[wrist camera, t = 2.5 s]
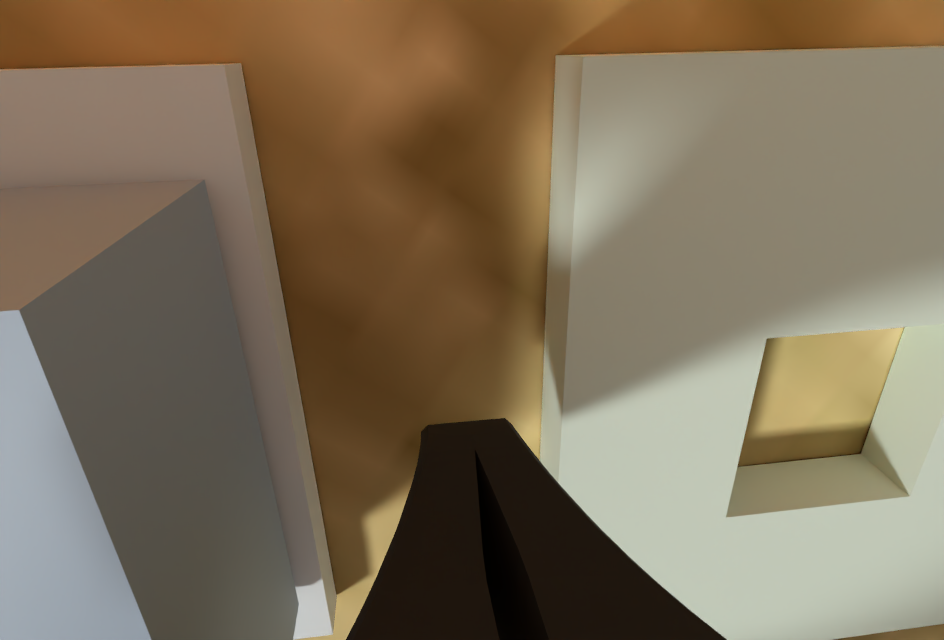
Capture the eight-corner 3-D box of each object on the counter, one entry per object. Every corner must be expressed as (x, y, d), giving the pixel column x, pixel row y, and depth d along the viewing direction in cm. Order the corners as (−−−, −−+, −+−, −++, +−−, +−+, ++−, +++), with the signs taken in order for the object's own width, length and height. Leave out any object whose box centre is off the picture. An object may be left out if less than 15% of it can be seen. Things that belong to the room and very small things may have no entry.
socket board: (935, 572, 17) (982, 618, 15) (533, 625, 15) (546, 680, 14) (1184, 39, 11) (1299, 38, 9) (555, 55, 9) (583, 56, 8)
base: (336, 597, 14) (332, 640, 13) (-110, 651, 13) (-153, 703, 12) (240, 63, 9) (220, 65, 8) (-516, 82, 8) (-654, 87, 7)
